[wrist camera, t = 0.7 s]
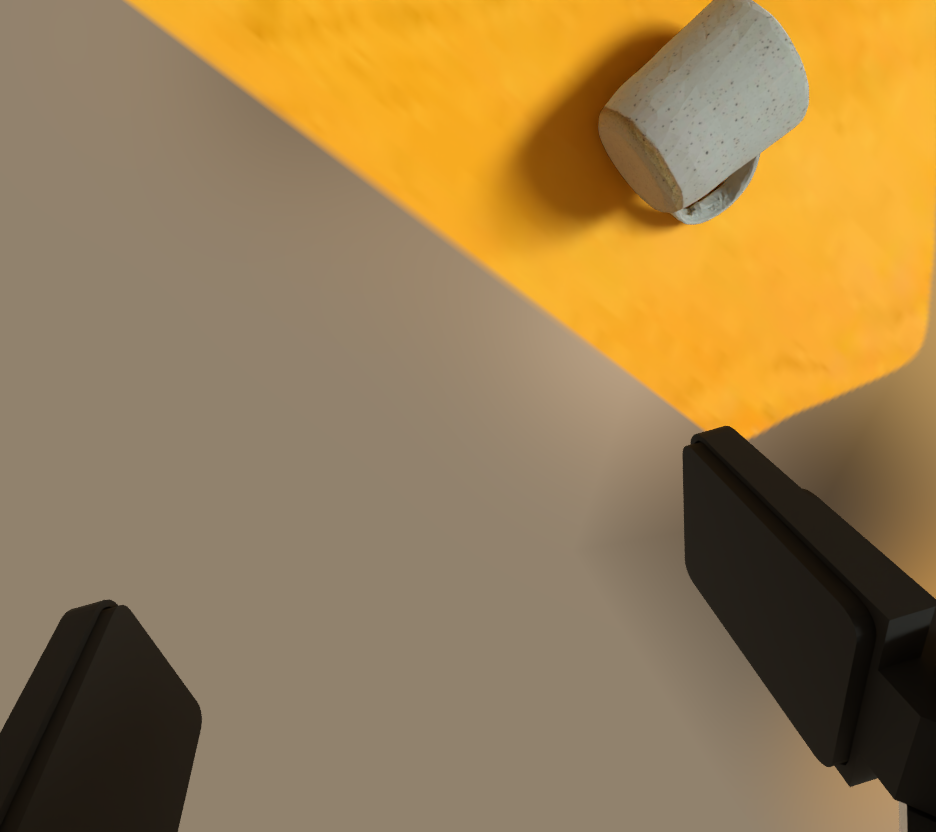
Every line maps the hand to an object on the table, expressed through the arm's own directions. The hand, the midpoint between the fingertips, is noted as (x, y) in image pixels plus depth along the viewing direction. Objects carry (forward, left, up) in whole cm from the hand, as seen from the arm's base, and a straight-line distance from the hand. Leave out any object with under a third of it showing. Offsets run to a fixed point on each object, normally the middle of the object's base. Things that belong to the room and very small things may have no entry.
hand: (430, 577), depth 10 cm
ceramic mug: (-6, +18, -29) cm, 35 cm away
